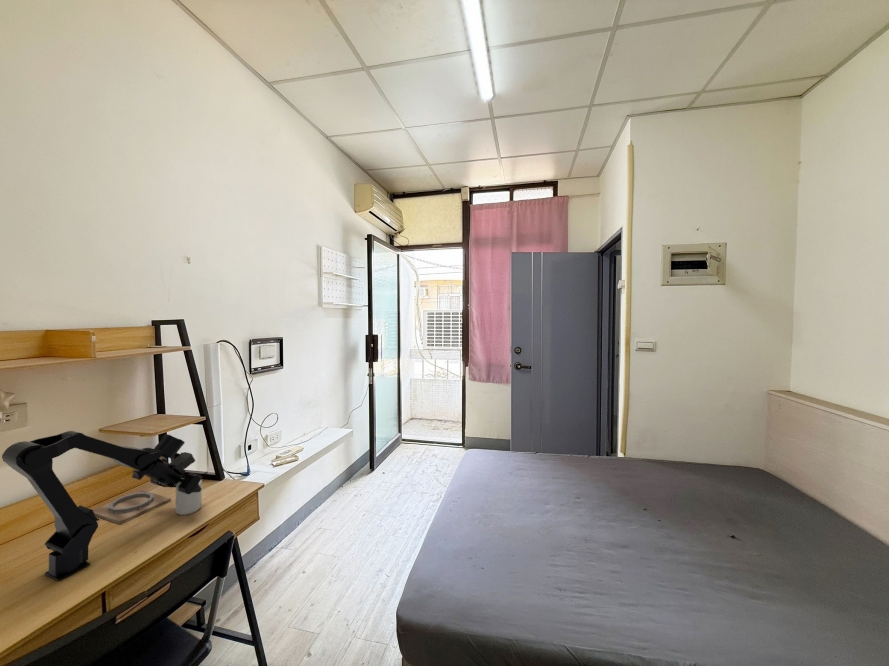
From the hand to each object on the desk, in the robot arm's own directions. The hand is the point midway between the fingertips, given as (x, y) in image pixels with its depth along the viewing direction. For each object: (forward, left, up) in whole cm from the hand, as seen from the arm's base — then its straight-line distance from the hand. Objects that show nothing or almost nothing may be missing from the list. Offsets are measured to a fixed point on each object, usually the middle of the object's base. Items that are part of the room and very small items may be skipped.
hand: (192, 488), depth 125 cm
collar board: (-7, +20, -8) cm, 23 cm away
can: (-1, 0, -8) cm, 8 cm away
